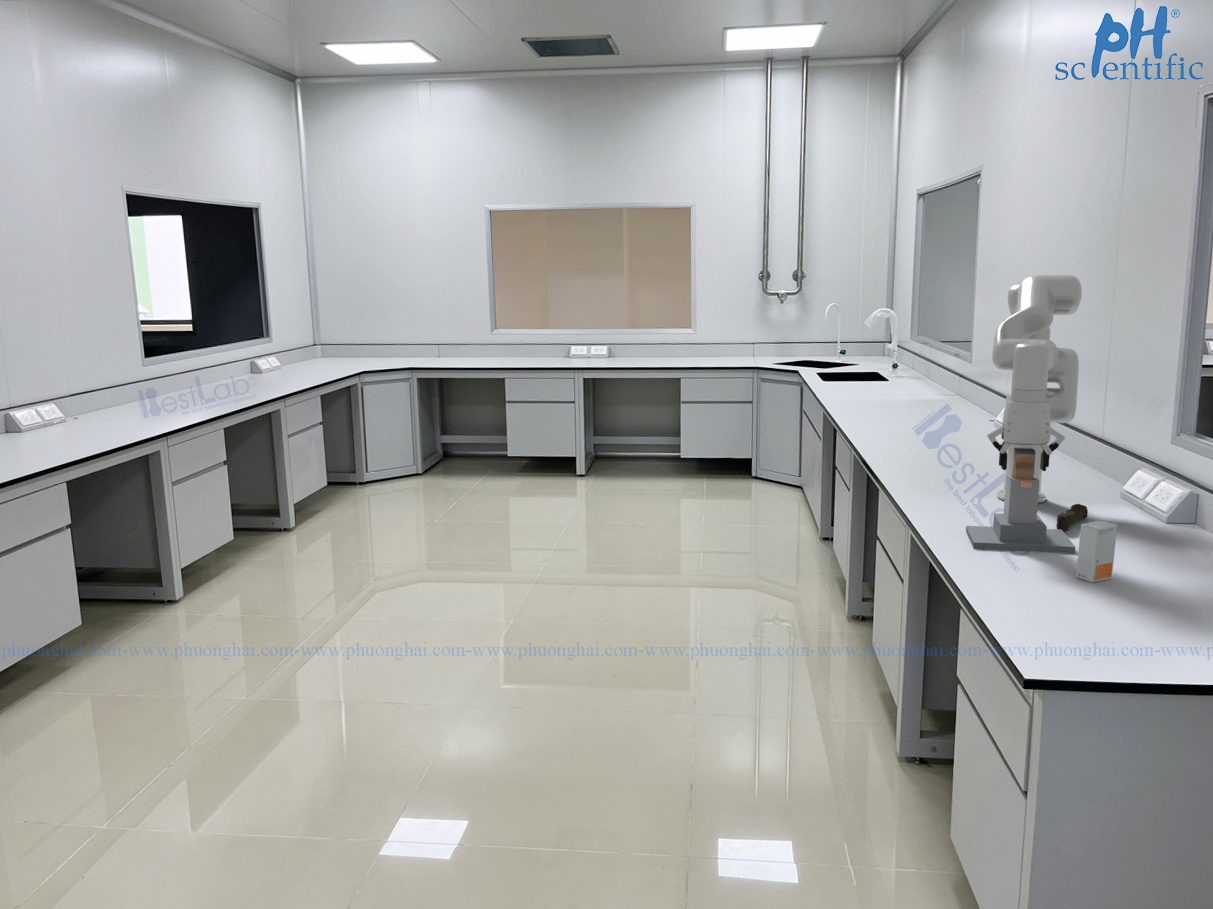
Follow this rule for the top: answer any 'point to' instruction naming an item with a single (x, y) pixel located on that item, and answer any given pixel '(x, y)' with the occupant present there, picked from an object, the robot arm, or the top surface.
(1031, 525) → the stand base
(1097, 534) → the skincare box
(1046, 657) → the top surface
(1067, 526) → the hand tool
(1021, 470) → the post
